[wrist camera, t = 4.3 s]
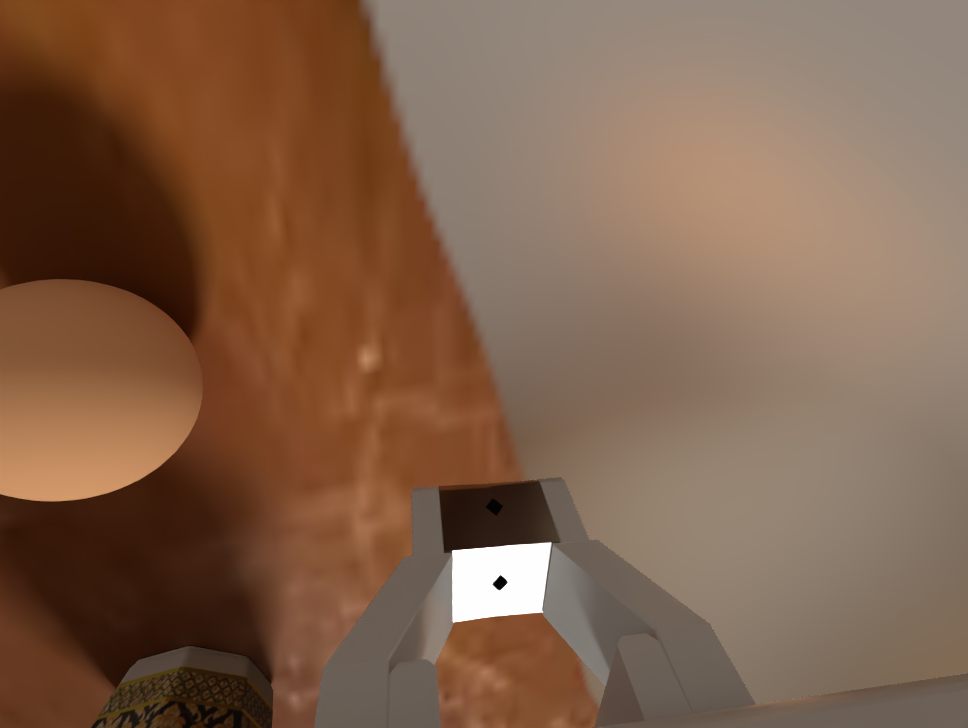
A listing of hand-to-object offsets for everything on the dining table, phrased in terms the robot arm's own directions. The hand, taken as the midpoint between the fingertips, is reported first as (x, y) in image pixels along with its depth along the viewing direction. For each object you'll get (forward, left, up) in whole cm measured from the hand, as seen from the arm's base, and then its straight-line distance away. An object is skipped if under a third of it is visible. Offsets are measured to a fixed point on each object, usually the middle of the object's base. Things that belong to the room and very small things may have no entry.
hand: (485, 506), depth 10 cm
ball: (-10, 0, -5) cm, 11 cm away
